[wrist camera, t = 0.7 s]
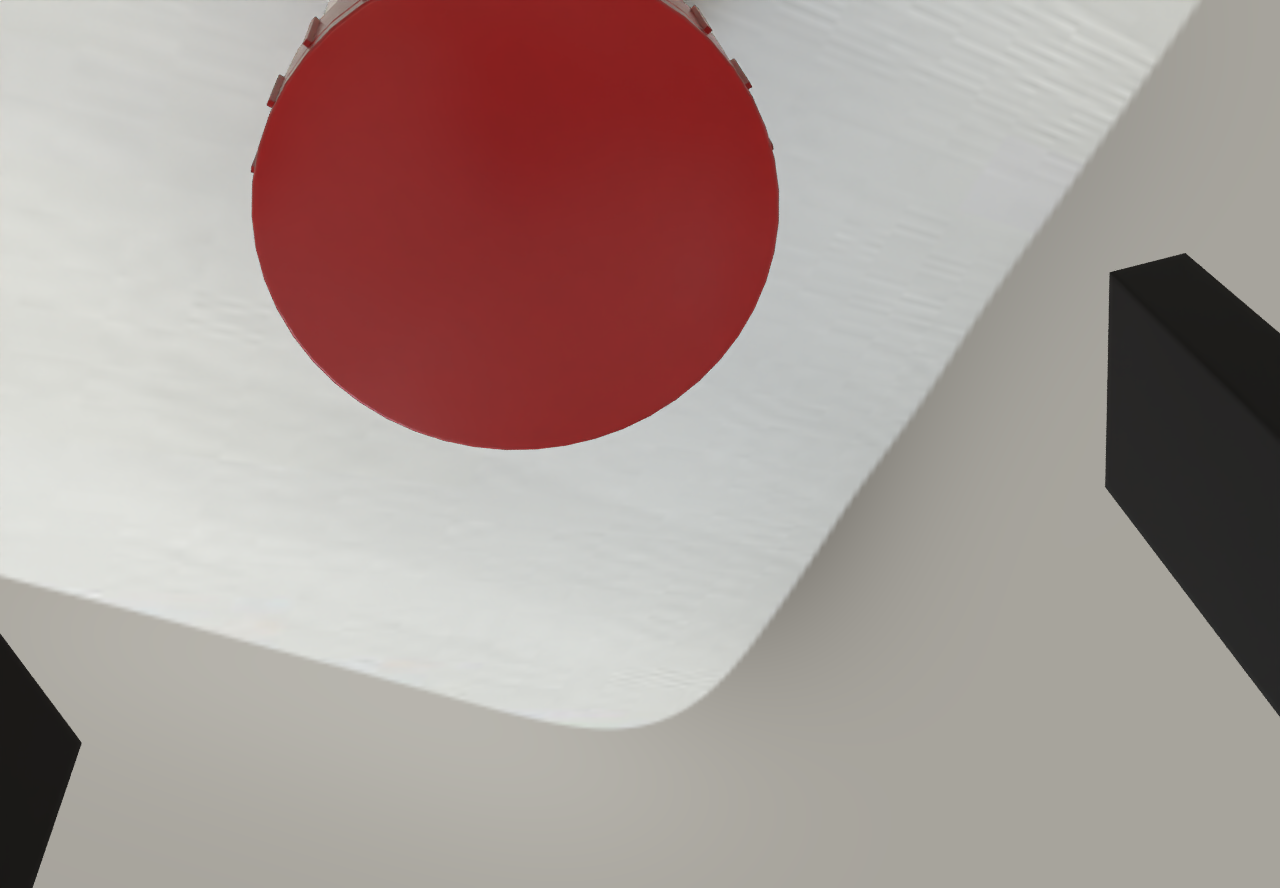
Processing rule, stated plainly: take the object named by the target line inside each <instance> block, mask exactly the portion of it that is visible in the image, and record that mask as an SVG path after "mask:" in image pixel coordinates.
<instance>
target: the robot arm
mask: <svg viewBox="0 0 1280 888" xmlns="http://www.w3.org/2000/svg"><path fill="white" fill-rule="evenodd" d="M1109 284H1110V285H1109V329H1108V332H1109V333H1108V380H1107V428H1106V429H1107V430H1106V477H1105V479H1106V480H1105V487H1106V489H1107V490H1108V491H1109V493H1110V494H1111V495H1112V496H1113V498H1114V499H1115V500H1116V502H1117V503H1118V504H1119V506H1120V507H1121V508H1122V510H1123V511H1124V512H1125V514H1126V515H1127V516H1128V517H1129V519H1130V520H1131V522H1132V523H1133V524H1134V525H1135V527H1136V528H1137V529H1138V531H1139V532H1140V533H1141V534H1142V536H1143V537H1144V539H1145V540H1146V541H1147V543H1148V544H1149V545H1150V547H1151V548H1152V549H1153V550H1154V552H1155V553H1156V554H1157V556H1158V557H1159V558H1160V560H1161V561H1162V562H1163V564H1164V565H1165V566H1166V568H1167V569H1168V570H1169V572H1170V573H1171V574H1172V575H1173V577H1174V578H1175V579H1176V581H1177V582H1178V583H1179V584H1180V586H1181V587H1182V588H1183V590H1184V591H1185V592H1186V594H1187V595H1188V597H1189V598H1190V599H1191V600H1192V602H1193V603H1194V604H1195V606H1196V607H1197V608H1198V610H1199V611H1200V612H1201V614H1202V615H1203V616H1204V618H1205V619H1206V620H1207V622H1208V623H1209V624H1210V626H1211V627H1212V628H1213V629H1214V631H1215V632H1216V633H1217V635H1218V636H1219V637H1220V639H1221V640H1222V641H1223V642H1224V644H1225V645H1226V647H1227V648H1228V649H1229V650H1230V652H1231V653H1232V654H1233V656H1234V657H1235V658H1236V660H1237V661H1238V662H1239V664H1240V665H1241V666H1242V668H1243V669H1244V670H1245V671H1246V673H1247V674H1248V676H1249V677H1250V678H1251V679H1252V681H1253V682H1254V683H1255V685H1256V686H1257V687H1258V689H1259V690H1260V691H1261V693H1262V694H1263V695H1264V697H1265V698H1266V699H1267V701H1268V702H1269V703H1270V704H1271V706H1272V707H1273V708H1274V710H1275V711H1276V712H1277V714H1278V715H1279V716H1280V333H1279V332H1278V331H1276V330H1275V329H1274V328H1273V327H1272V326H1271V325H1269V324H1268V323H1267V322H1266V321H1265V320H1263V319H1262V318H1261V317H1260V316H1259V315H1258V314H1256V313H1255V312H1254V311H1253V310H1252V309H1250V308H1249V307H1248V306H1247V305H1246V304H1245V303H1243V302H1242V301H1241V300H1240V299H1239V298H1237V297H1236V296H1235V295H1234V294H1233V293H1232V292H1231V291H1229V290H1228V289H1227V288H1226V287H1225V286H1223V285H1222V284H1221V283H1220V282H1219V281H1218V280H1216V279H1215V278H1214V277H1213V276H1212V275H1210V274H1209V273H1208V272H1207V271H1206V270H1205V269H1203V268H1202V267H1201V266H1200V265H1199V264H1197V263H1196V262H1195V261H1194V260H1193V259H1192V258H1190V257H1189V256H1188V255H1187V254H1186V253H1184V254H1180V255H1176V256H1172V257H1168V258H1164V259H1160V260H1157V261H1153V262H1148V263H1145V264H1141V265H1137V266H1133V267H1129V268H1125V269H1121V270H1117V271H1113V272H1110V281H1109ZM80 746H81V741H80V740H79V739H78V737H77V736H76V735H75V733H74V732H73V731H72V729H71V728H70V726H69V725H68V724H67V722H66V721H65V720H64V719H63V717H62V716H61V714H60V713H59V712H58V710H57V709H56V708H55V706H54V705H53V704H52V703H51V701H50V700H49V698H48V697H47V696H46V695H45V693H44V692H43V690H42V689H41V688H40V686H39V685H38V684H37V682H36V681H35V680H34V678H33V677H32V676H31V674H30V673H29V671H28V670H27V669H26V667H25V666H24V665H23V664H22V662H21V661H20V659H19V658H18V657H17V655H16V654H15V653H14V651H13V650H12V649H11V647H10V646H9V645H8V643H7V642H6V641H5V639H4V638H3V637H2V635H1V634H0V888H33V885H34V882H35V879H36V876H37V873H38V870H39V867H40V864H41V861H42V858H43V855H44V852H45V849H46V846H47V843H48V841H49V838H50V835H51V832H52V829H53V826H54V823H55V820H56V817H57V814H58V811H59V808H60V805H61V802H62V799H63V797H64V793H65V790H66V788H67V785H68V782H69V779H70V776H71V772H72V770H73V767H74V764H75V761H76V758H77V755H78V752H79V749H80Z"/></svg>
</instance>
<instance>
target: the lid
mask: <svg viewBox="0 0 1280 888" xmlns="http://www.w3.org/2000/svg"><path fill="white" fill-rule="evenodd" d="M711 31H712V29H711V27H710V26H709V24H708V23H707V21H706V20H705V18H704V16H703V15H702V13H701V12H700V10H699V9H698V8H697V7H696V6H695V5H694V6H693V7H692V8H690V7H689V6H688V5H687V4H685V3H684V2H683V1H682V0H338V1H337V2H336V3H335V4H334V5H333V6H332V7H331V8H330V9H329V10H328V11H327V12H326V13H325V14H324V16H323V17H322V18H321V19H320V20H319V19H318V18H317V17H314V18H313V19H312V21H311V23H310V25H309V28H308V31H307V33H306V36H305V39H304V41H303V43H302V45H301V46H300V47H299V49H298V51H297V53H296V55H295V57H294V59H293V61H292V63H291V65H290V67H289V68H288V70H287V72H286V74H285V76H284V77H283V76H281V75H279V76H278V78H277V81H276V83H275V86H274V88H273V91H272V93H271V95H270V98H269V100H268V103H267V106H269V107H271V108H272V109H271V111H270V114H269V117H268V120H267V123H266V126H265V129H264V132H263V135H262V138H261V141H260V144H259V147H258V151H257V153H256V156H255V158H254V161H253V164H252V166H251V172H252V173H254V175H253V181H252V223H253V231H254V239H255V247H256V251H257V255H258V258H259V262H260V266H261V269H262V273H263V277H264V280H265V282H266V285H267V287H268V289H269V292H270V294H271V296H272V299H273V301H274V303H275V306H276V308H277V310H278V312H279V313H280V315H281V317H282V318H283V320H284V322H285V323H286V325H287V327H288V328H289V330H290V332H291V334H292V335H293V337H294V338H295V339H296V341H297V342H298V343H299V344H300V346H301V347H302V348H303V349H304V351H305V352H306V353H307V354H308V356H309V357H310V358H311V360H312V361H313V362H314V363H315V364H316V365H317V366H318V367H319V368H320V369H321V370H322V371H323V372H324V373H325V374H326V375H327V376H328V377H329V378H330V379H331V380H332V381H333V382H334V383H335V384H337V385H338V386H339V387H340V388H342V389H343V390H344V391H346V392H347V393H348V394H350V395H351V396H352V397H353V398H355V399H356V400H357V401H359V402H360V403H362V404H363V405H365V406H367V407H368V408H370V409H372V410H373V411H375V412H377V413H378V414H380V415H382V416H383V417H385V418H387V419H389V420H391V421H393V422H395V423H398V424H400V425H402V426H404V427H407V428H409V429H411V430H413V431H415V432H419V433H422V434H425V435H428V436H431V437H434V438H437V439H440V440H443V441H448V442H453V443H457V444H462V445H467V446H472V447H480V448H491V449H502V450H526V449H543V448H551V447H559V446H566V445H571V444H575V443H579V442H583V441H588V440H592V439H596V438H599V437H601V436H604V435H607V434H610V433H613V432H616V431H618V430H621V429H624V428H626V427H628V426H630V425H632V424H634V423H636V422H638V421H641V420H643V419H645V418H647V417H649V416H651V415H652V414H654V413H656V412H657V411H659V410H660V409H662V408H664V407H665V406H667V405H668V404H670V403H671V402H673V401H675V400H676V399H677V398H679V397H680V396H681V395H682V394H684V393H685V392H686V391H687V390H689V389H690V388H691V387H692V386H694V385H695V384H696V383H697V382H699V381H700V380H701V379H702V378H703V377H704V376H705V375H706V374H707V373H708V372H709V371H710V370H711V369H712V368H713V366H714V365H715V364H716V363H717V362H718V361H719V360H720V359H721V358H722V357H723V355H724V354H725V353H726V352H727V350H728V349H729V348H730V346H731V345H732V344H733V342H734V341H735V340H736V339H737V337H738V336H739V334H740V333H741V331H742V329H743V327H744V326H745V324H746V322H747V321H748V319H749V317H750V316H751V314H752V312H753V310H754V308H755V306H756V304H757V301H758V299H759V297H760V294H761V292H762V290H763V287H764V285H765V283H766V280H767V276H768V273H769V269H770V266H771V262H772V259H773V255H774V251H775V244H776V237H777V230H778V223H779V188H778V180H777V173H776V165H775V158H774V155H773V151H772V150H773V144H772V142H771V141H770V139H769V137H768V133H767V130H766V126H765V124H764V122H763V120H762V117H761V115H760V113H759V111H758V108H757V106H756V104H755V101H754V99H753V97H752V95H751V94H750V92H749V90H748V89H750V88H751V87H752V86H751V84H750V82H749V80H748V79H747V77H746V76H745V74H744V73H743V71H742V69H741V68H740V66H739V65H738V63H737V62H736V60H735V59H732V60H731V61H730V60H729V58H728V57H727V55H726V54H725V52H724V51H723V49H722V47H721V46H720V44H719V43H718V41H717V40H716V38H715V36H714V35H713V34H712V33H711Z"/></svg>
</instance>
